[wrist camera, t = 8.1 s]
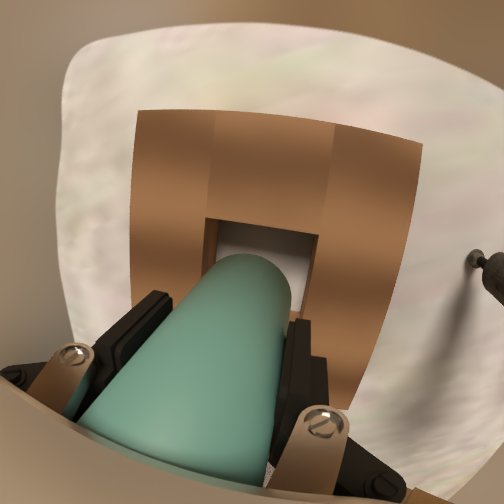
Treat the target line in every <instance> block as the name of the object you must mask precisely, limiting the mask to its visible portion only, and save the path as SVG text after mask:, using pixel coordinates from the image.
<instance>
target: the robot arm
mask: <svg viewBox="0 0 504 504" xmlns="http://www.w3.org/2000/svg"><path fill="white" fill-rule="evenodd" d="M172 311H173V299H172V297H169V294H168V293H166V292H162V291H158V290H153V291H152V292H151V293H149V294H148V295H147V296H146V297H145V298H144V299H142V300H141V301H140V302H139V303H138V304H137V305H136V306H134V307H133V308H132V309H131V310H130V311H129V312H128V313H127V314H125V315H124V316H123V317H122V318H121V319H120V320H119V321H118V322H116V323H115V324H114V325H113V326H112V327H111V328H110V329H109V330H108V331H106V332H105V333H104V334H103V335H102V336H101V337H100V338H99V339H98V340H97V341H95V342H96V343H95V344H94V345H93V346H92V347H89V346H88V345H86V344H83V343H69V344H65V345H63V346H62V347H60V348H59V349H58V350H57V351H56V352H55V353H54V354H53V356H52V357H51V358H50V360H49V361H48V362H40V363H32V364H22V365H12V366H8V367H6V368H4V369H2V370H1V371H0V504H454V503H451V502H448V501H446V500H444V499H441V498H439V497H436V496H434V495H431V494H429V493H427V492H425V491H422V490H420V489H418V488H416V487H415V488H414V489H413V490H411V489H409V488H407V487H406V483H405V481H404V479H403V477H401V476H400V475H399V474H398V473H397V472H396V471H394V470H393V469H391V468H390V467H389V466H387V465H386V464H384V463H383V462H382V461H380V460H379V459H377V458H376V457H375V456H373V455H372V454H371V453H369V452H368V451H367V450H365V449H364V448H363V447H361V446H360V445H359V444H357V443H356V442H355V441H353V440H352V439H351V438H350V437H348V433H349V422H348V419H347V417H346V416H345V415H344V414H343V413H342V412H341V411H339V410H338V409H336V408H333V407H331V406H329V388H328V370H327V359H326V357H319V356H312V355H311V320H306V319H300V318H296V319H295V322H294V321H289V325H288V330H287V335H286V340H285V347H284V354H283V361H282V368H281V375H280V381H279V388H278V394H277V400H276V406H275V412H274V427H273V433H272V439H271V445H270V450H269V459H268V462H270V464H271V465H272V466H273V467H274V468H275V470H274V472H273V474H272V476H271V478H270V480H269V482H268V484H267V486H266V488H263V487H257V486H251V485H246V484H241V483H236V482H231V481H227V480H223V479H218V478H214V477H210V476H207V475H203V474H199V473H196V472H192V471H189V470H186V469H182V468H179V467H176V466H173V465H170V464H167V463H164V462H161V461H158V460H156V459H153V458H150V457H147V456H145V455H142V454H140V453H137V452H135V451H132V450H130V449H127V448H125V447H123V446H121V445H118V444H116V443H114V442H112V441H109V440H107V439H105V438H103V437H101V436H99V435H97V434H95V433H93V432H91V431H89V430H87V429H85V428H83V427H81V426H79V425H77V424H76V423H77V421H78V420H79V419H80V418H81V417H82V415H83V414H84V413H85V412H86V411H87V409H88V408H89V407H90V406H91V405H92V403H93V402H94V401H95V400H96V399H97V398H98V396H99V395H100V394H101V393H102V392H103V390H104V389H105V388H106V387H107V386H108V385H109V383H110V382H111V381H112V380H113V379H114V377H115V376H116V375H117V374H118V373H119V372H120V370H121V369H122V368H123V367H124V366H125V365H126V363H127V362H128V361H129V360H130V359H131V358H132V357H133V355H134V354H135V353H136V352H137V351H138V350H139V348H140V347H141V346H142V345H143V344H144V343H145V342H146V340H147V339H148V338H149V337H150V336H151V335H152V334H153V332H154V331H155V330H156V329H157V328H158V327H159V326H160V324H161V323H162V322H163V321H164V320H165V319H166V318H167V316H168V315H169V314H170V313H171V312H172Z"/></svg>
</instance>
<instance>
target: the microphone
mask: <svg viewBox="0 0 504 504" xmlns="http://www.w3.org/2000/svg"><path fill="white" fill-rule="evenodd" d="M468 260H469V263H470V265H471V266H472V267H473V268H479V267H481V268H482V269H483V273H482V282H483V285H484V287H485V289H486V290H487V291H488V292H490V293H491V294H492V295H493V296H494V297H495V298H496V299H497V300H498V301H499V302H500V303H501V304H502V305H503V306H504V253H503V252H498V253H495V254H494V255H492V256H491V257H490V258H489V259H488V260H487V259H486V258H485V257H484V254H483V252H482V251H481V250H478V249H475V250H473V251H471V252H470V254H469V257H468Z"/></svg>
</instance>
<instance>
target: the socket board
mask: <svg viewBox="0 0 504 504" xmlns="http://www.w3.org/2000/svg"><path fill="white" fill-rule="evenodd" d="M422 146H423V144H421V143H418V142H414V141H411V140H407V139H403V138H400V137H396V136H392V135H388V134H384V133H379V132H375V131H371V130H366V129H361V128H357V127H352V126H347V125H341V124H336V123H330V122H324V121H318V120H312V119H305V118H298V117H290V116H282V115H273V114H263V113H252V112H238V111H221V110H139V111H138V116H137V124H136V132H135V142H134V152H133V164H132V179H131V198H130V281H131V301H132V308H133V307H134V306H136V305H137V304H138V303H139V302H140V301H141V300H142V299H144V298H145V297H146V296H147V295H148V294H149V293H151V292H152V291H153V290H158V291H162V292H166V293H168V294H169V297H172V299H173V310H174V308H175V307H176V306H177V305H178V304H179V303H180V302H181V301H182V299H183V298H184V297H185V296H186V295H187V294H188V293H189V292H190V290H191V289H192V288H193V287H194V286H195V285H196V284H197V283H198V282H199V280H200V279H201V278H202V277H203V276H204V275H205V274H206V273H207V272H208V270H209V269H210V268H211V267H212V266H213V265H214V264H215V261H216V249H217V237H218V226H219V219H221V220H228V221H235V222H241V223H248V224H255V225H261V226H268V227H274V228H280V229H287V230H293V231H299V232H305V233H311V234H315V238H314V244H313V249H312V255H311V260H310V265H309V271H308V276H307V281H306V286H305V291H304V296H303V301H302V306H301V310H300V312H294V311H290V316H289V321H294V322H295V319H296V318H300V319H306V320H311V355H312V356H319V357H326V359H327V370H328V388H329V406H331V407H333V408H336V409H342V410H348V409H349V406H350V404H351V402H352V400H353V398H354V396H355V393H356V391H357V389H358V386H359V384H360V382H361V380H362V377H363V375H364V372H365V370H366V367H367V365H368V362H369V360H370V357H371V355H372V352H373V350H374V347H375V344H376V341H377V339H378V336H379V333H380V330H381V327H382V325H383V322H384V319H385V316H386V313H387V309H388V306H389V303H390V300H391V297H392V293H393V290H394V287H395V283H396V280H397V276H398V272H399V269H400V265H401V261H402V257H403V253H404V249H405V245H406V241H407V236H408V232H409V227H410V222H411V217H412V212H413V207H414V202H415V196H416V190H417V184H418V177H419V170H420V163H421V155H422ZM288 325H289V324H288Z"/></svg>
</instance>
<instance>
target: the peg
mask: <svg viewBox="0 0 504 504" xmlns="http://www.w3.org/2000/svg"><path fill="white" fill-rule="evenodd" d="M290 308H291V290H290V286H289V283H288V281H287V279H286V277H285V276H284V274H283V273H282V272H281V271H280V270H279V268H278V267H276V266H275V265H274V264H273V263H271V262H270V261H268V260H266V259H264V258H262V257H259V256H256V255H252V254H234V255H230V256H227V257H225V258H223V259H221V260H219V261H218V262H216V263H215V264H214V265H213V266H212V267H211V268H210V269H209V270H208V272H207V273H206V274H205V275H204V276H203V277H202V278H201V279H200V280H199V282H198V283H197V284H196V285H195V286H194V287H193V288H192V289H191V290H190V292H189V293H188V294H187V295H186V296H185V297H184V298H183V299H182V301H181V302H180V303H179V304H178V305H177V306H176V307H175V308H174V310H173V311H172V312H171V313H170V314H169V315H168V316H167V318H166V319H165V320H164V321H163V322H162V323H161V324H160V326H159V327H158V328H157V329H156V330H155V331H154V332H153V334H152V335H151V336H150V337H149V338H148V339H147V340H146V342H145V343H144V344H143V345H142V346H141V347H140V348H139V350H138V351H137V352H136V353H135V354H134V355H133V357H132V358H131V359H130V360H129V361H128V362H127V363H126V365H125V366H124V367H123V368H122V369H121V370H120V372H119V373H118V374H117V375H116V376H115V377H114V379H113V380H112V381H111V382H110V383H109V385H108V386H107V387H106V388H105V389H104V390H103V392H102V393H101V394H100V395H99V396H98V398H97V399H96V400H95V401H94V402H93V403H92V405H91V406H90V407H89V408H88V409H87V411H86V412H85V413H84V414H83V415H82V417H81V418H80V419H79V420H78V421H77V423H76V424H77V425H79V426H81V427H83V428H85V429H87V430H89V431H91V432H93V433H95V434H97V435H99V436H101V437H103V438H105V439H107V440H109V441H112V442H114V443H116V444H118V445H121V446H123V447H125V448H127V449H130V450H132V451H135V452H137V453H140V454H142V455H145V456H147V457H150V458H153V459H156V460H158V461H161V462H164V463H167V464H170V465H173V466H176V467H179V468H182V469H186V470H189V471H192V472H196V473H199V474H203V475H207V476H210V477H214V478H218V479H223V480H227V481H231V482H236V483H241V484H246V485H251V486H257V487H263V482H264V477H265V472H266V467H267V461H268V456H269V450H270V445H271V439H272V433H273V427H274V412H275V406H276V400H277V394H278V388H279V381H280V375H281V368H282V361H283V354H284V347H285V340H286V335H287V330H288V324H289V316H290Z"/></svg>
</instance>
